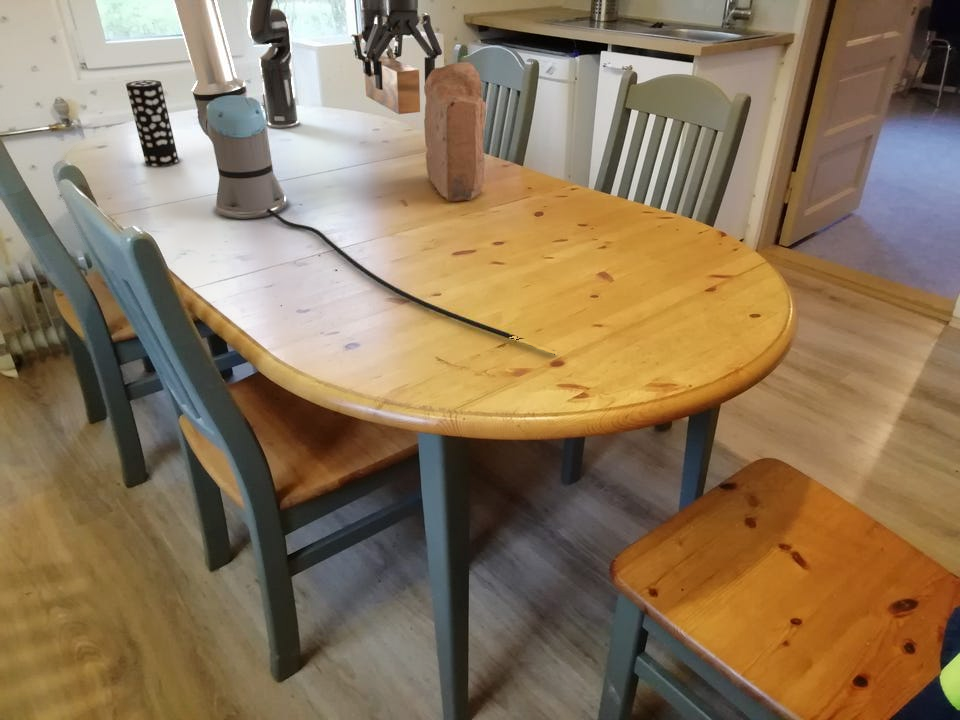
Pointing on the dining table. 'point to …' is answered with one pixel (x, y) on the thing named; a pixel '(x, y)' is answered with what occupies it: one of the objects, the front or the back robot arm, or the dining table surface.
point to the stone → (455, 131)
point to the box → (395, 86)
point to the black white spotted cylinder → (152, 122)
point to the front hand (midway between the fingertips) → (404, 87)
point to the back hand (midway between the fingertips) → (379, 74)
